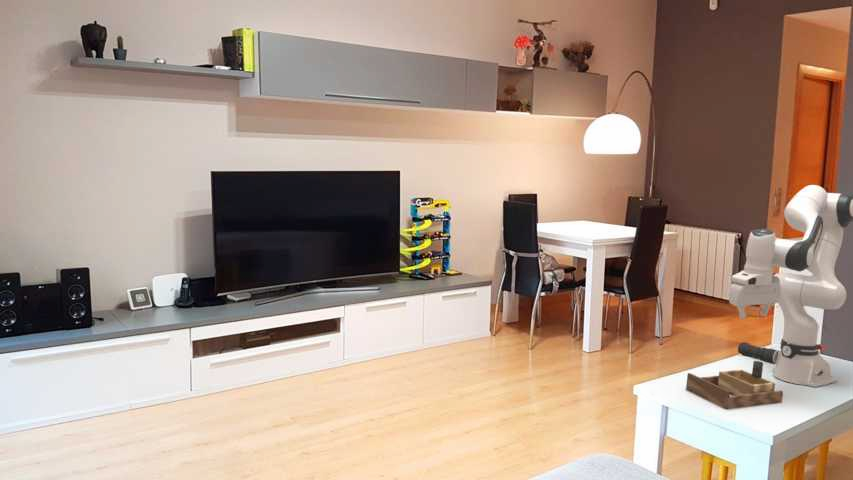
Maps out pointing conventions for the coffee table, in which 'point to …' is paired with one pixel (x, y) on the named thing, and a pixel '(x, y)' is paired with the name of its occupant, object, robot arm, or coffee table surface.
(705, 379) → the bay
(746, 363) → the coffee table surface
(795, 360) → the robot arm
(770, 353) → the flashlight
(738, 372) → the crate
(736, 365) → the coffee table surface
